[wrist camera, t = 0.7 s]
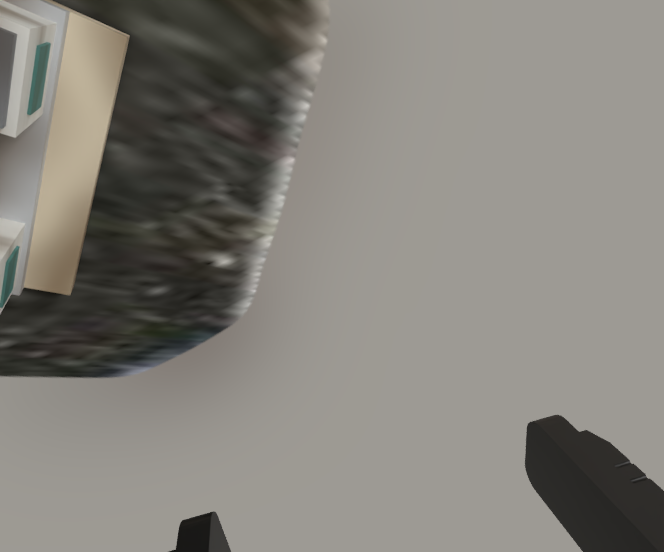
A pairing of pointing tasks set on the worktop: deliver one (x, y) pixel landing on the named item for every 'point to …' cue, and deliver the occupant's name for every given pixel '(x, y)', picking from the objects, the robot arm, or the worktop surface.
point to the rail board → (51, 137)
